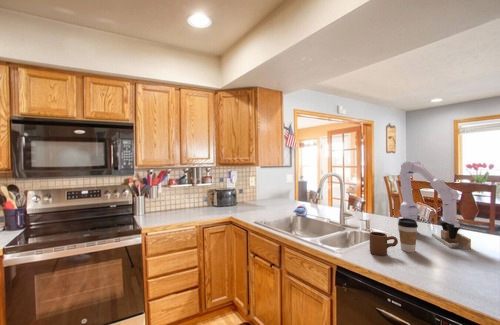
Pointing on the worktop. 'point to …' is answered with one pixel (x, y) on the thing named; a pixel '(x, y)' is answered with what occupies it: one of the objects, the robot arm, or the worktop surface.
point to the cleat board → (462, 240)
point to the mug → (381, 243)
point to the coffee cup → (408, 234)
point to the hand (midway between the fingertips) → (449, 237)
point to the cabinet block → (446, 237)
